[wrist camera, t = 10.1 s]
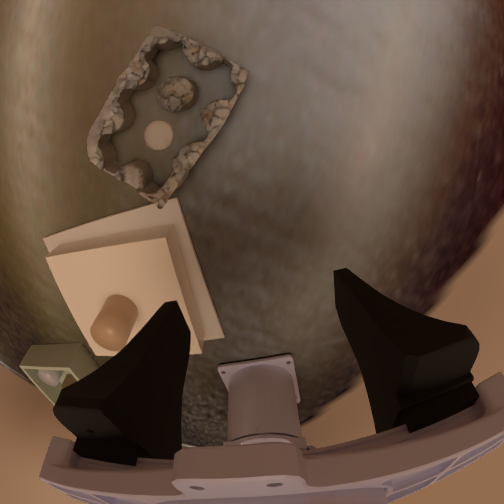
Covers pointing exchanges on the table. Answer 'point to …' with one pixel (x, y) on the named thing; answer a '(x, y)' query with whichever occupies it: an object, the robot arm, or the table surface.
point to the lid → (123, 285)
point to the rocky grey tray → (159, 132)
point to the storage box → (57, 366)
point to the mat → (145, 219)
